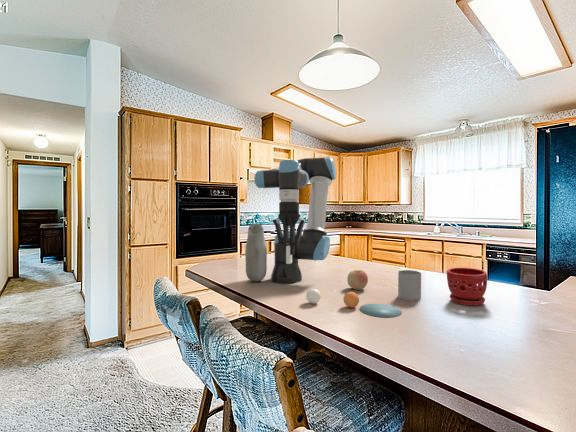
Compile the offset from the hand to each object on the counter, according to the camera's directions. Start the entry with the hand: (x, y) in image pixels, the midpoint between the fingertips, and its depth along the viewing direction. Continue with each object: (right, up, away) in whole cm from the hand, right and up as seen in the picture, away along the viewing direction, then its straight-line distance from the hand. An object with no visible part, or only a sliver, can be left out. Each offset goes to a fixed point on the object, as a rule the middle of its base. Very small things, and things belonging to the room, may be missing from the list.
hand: (289, 263), depth 121 cm
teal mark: (+32, -15, -11) cm, 37 cm away
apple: (+30, -14, +17) cm, 37 cm away
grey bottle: (-16, -14, +33) cm, 39 cm away
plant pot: (+66, -15, -2) cm, 68 cm away
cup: (+48, -15, +4) cm, 50 cm away
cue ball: (+9, -12, -3) cm, 15 cm away
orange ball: (+22, -12, -8) cm, 26 cm away
